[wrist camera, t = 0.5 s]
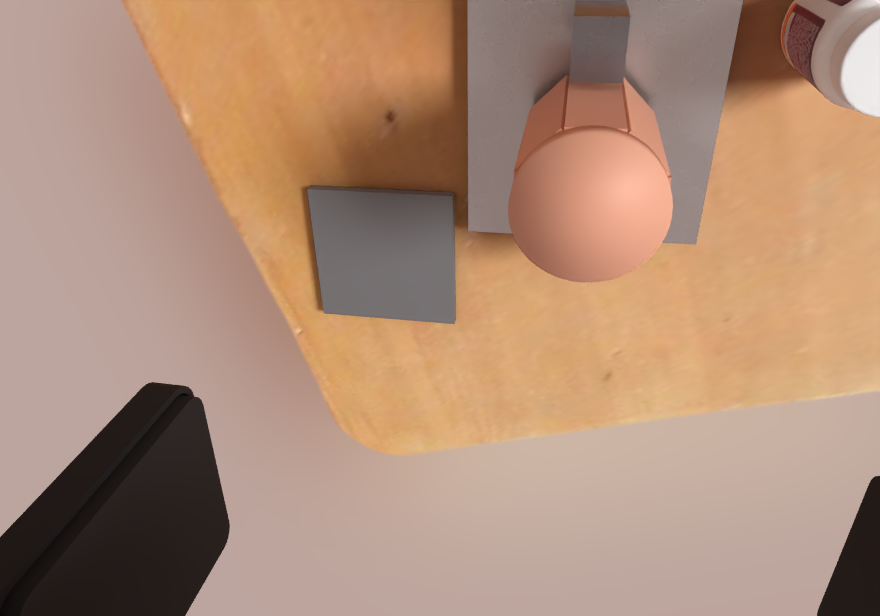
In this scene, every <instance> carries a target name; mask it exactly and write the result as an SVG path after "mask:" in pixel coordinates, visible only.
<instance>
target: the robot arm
mask: <svg viewBox="0 0 880 616" xmlns="http://www.w3.org/2000/svg"><path fill="white" fill-rule="evenodd" d="M229 527H230V525H229V519H228V514H227V510H226V505H225V501H224V497H223V492H222V487H221V483H220V478H219V474H218V469H217V465H216V460H215V456H214V451H213V447H212V443H211V438H210V433H209V429H208V424H207V420H206V415H205V411H204V406H203V403H202V401H201V399H200V398H198V397H194V395H193V392H192V390H191V389H190V388H189V387H186V386H180V385H172V384H163V383H154V382H152V383H148V384H146V385H145V386H144V387H143V388H142V389H140V391H139V392H138V393H137V394H136V395H135V396H134V397H133V398H132V399H131V400H130V401H129V402H128V403H127V404H126V405H125V406H124V408H123V409H122V410H121V411H120V412H119V413H118V414H117V415H116V416H115V417H114V418H113V419H112V420H111V421H110V422H109V423H108V424H107V425H106V427H104V429H103V430H102V431H101V432H100V433H99V434H98V435H97V436H96V437H95V438H94V439H93V440H92V441H91V442H90V443H89V444H88V445H87V446H86V448H85V449H84V450H83V451H82V452H81V453H80V454H79V455H78V456H77V457H76V458H75V459H74V460H73V461H72V462H71V463H70V464H69V465H68V466H67V467H66V469H65V470H64V471H63V472H62V473H61V474H60V475H59V476H58V477H57V478H56V479H55V480H54V481H53V482H52V483H51V484H50V485H49V487H47V489H46V490H45V491H44V492H43V493H42V494H41V495H40V496H39V497H38V498H37V499H36V500H35V501H34V502H33V503H32V504H31V506H29V508H28V509H27V510H26V511H25V512H24V513H23V514H22V515H21V516H20V517H19V518H18V519H17V520H16V521H15V522H14V523H13V524H12V525H11V526H10V528H9V529H8V530H7V531H6V532H5V533H4V534H3V535H2V536H1V537H0V616H185V615H186V613H187V611H188V610H189V608H190V606H191V604H192V603H193V601H194V599H195V598H196V595H197V594H198V592H199V591H200V589H201V587H202V585H203V584H204V582H205V580H206V578H207V577H208V575H209V573H210V572H211V570H212V568H213V566H214V565H215V563H216V561H217V560H218V558H219V556H220V554H221V553H222V551H223V549H224V547H225V545H226V543H227V539H228V535H229ZM817 616H880V476H875V477H874V478H873V479H872V480H871V482H870V483H869V486H868V488H867V491H866V493H865V496H864V498H863V500H862V503H861V505H860V508H859V511H858V513H857V515H856V518H855V520H854V523H853V525H852V528H851V530H850V533H849V535H848V538H847V540H846V543H845V545H844V547H843V550H842V552H841V555H840V557H839V560H838V562H837V565H836V567H835V570H834V572H833V574H832V577H831V579H830V582H829V584H828V587H827V589H826V592H825V594H824V597H823V599H822V602H821V604H820V606H819V609H818V613H817Z"/></svg>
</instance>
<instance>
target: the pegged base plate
mask: <svg viewBox="0 0 880 616" xmlns="http://www.w3.org/2000/svg"><path fill="white" fill-rule="evenodd" d="M742 4H743V0H468V231H474V232H491V233H509V234H512V231H511V228H510V224H509V218H508V203H509V197H510V193H511V189H512V185H513V178H514V168H515V165H516V161H517V157H518V153H519V149H520V145H521V141H522V137H523V134H524V130H525V126H526V122H527V118H528V114H529V111H530V109H531V108H532V107H533V106H534V105H535V104H536V103H537V102H538V101H539V100H540V99H541V98H542V97H543V96H545V95H546V94H547V93H548V92H549V91H550V90H551V89H552V88H553V87H554V86H555V85H556V84H557V83H559V82H560V81H561V80H562V79H563V78H564V77H565V76H566V75H567V76H568V77H569V82H571V83H618V84H623V79H624V78H625V79H626V80H627V81H628V82H629V84H630V85H631V86H632V87H633V88H634V89H635V90H636V92H637V93H638V94H639V95H640V96H641V97H642V98H643V100H644V101H645V102H646V103H647V104H648V105H649V107H650V108H651V109H652V110H653V111H654V113H655V117H656V121H657V125H658V128H659V132H660V136H661V140H662V144H663V147H664V151H665V155H666V159H667V163H668V166H669V170H670V174H671V178H672V179H671V185H670V188H671V193H672V199H673V212H672V219H671V223H670V227H669V229H668V232H667V234H666V237H665V238H664V240H663V242H662V243H679V244H696V241H697V236H698V231H699V226H700V221H701V215H702V210H703V205H704V200H705V195H706V190H707V184H708V179H709V174H710V169H711V164H712V159H713V153H714V148H715V143H716V138H717V133H718V128H719V122H720V117H721V112H722V107H723V102H724V97H725V91H726V86H727V81H728V76H729V71H730V66H731V60H732V55H733V50H734V45H735V40H736V35H737V29H738V24H739V19H740V14H741V9H742Z"/></svg>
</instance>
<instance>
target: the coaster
mask: <svg viewBox="0 0 880 616" xmlns="http://www.w3.org/2000/svg"><path fill="white" fill-rule="evenodd" d="M307 193H308V200H309V208H310V215H311V222H312V230H313V237H314V244H315V252H316V259H317V266H318V274H319V281H320V289H321V296H322V303H323V311H324V313H326V314H338V315H351V316H363V317H375V318H387V319H400V320H412V321H424V322H436V323H449V324H455V320H456V295H455V227H454V192H434V191H414V190H393V189H373V188H353V187H332V186H312V185H310V186H309V187H308V189H307Z"/></svg>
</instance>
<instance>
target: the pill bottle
mask: <svg viewBox="0 0 880 616" xmlns="http://www.w3.org/2000/svg"><path fill="white" fill-rule="evenodd" d="M781 46H782V50H783V53H784V55H785V57H786V59H787V60H788V62H789V63H790V64H791V65H792V66H793V67H794V68H795V69H796V70H797V71H798V72H799V73H800V74H801V75H802V76H803V77H804V78H806V79H807V80H808V81H809V82H810V83H811V84H812V85H813V86H814V87H815V88H816V89H817V90H818V91H820V92H821V93H822V94H823V95H824V96H825V97H826V98H827V99H828V100H830V101H831V102H832V103H834V104H836V105H839V106H841V107H845V108H849V109H854V110H857V111H858V112H860V113H863V114H865V115H869V116H873V117H880V0H794V1H793V2H792V4H791V5H790V7H789V9H788V10H787V13H786V15H785V17H784V20H783V23H782V28H781Z"/></svg>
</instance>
